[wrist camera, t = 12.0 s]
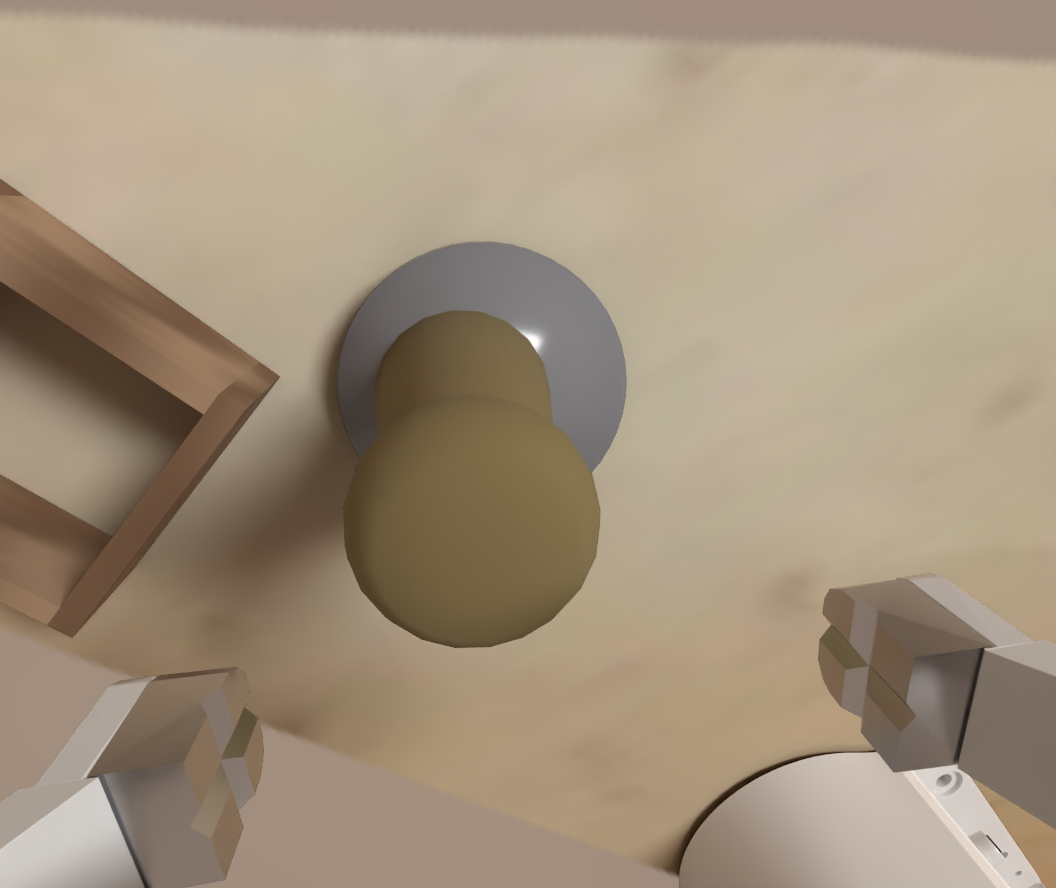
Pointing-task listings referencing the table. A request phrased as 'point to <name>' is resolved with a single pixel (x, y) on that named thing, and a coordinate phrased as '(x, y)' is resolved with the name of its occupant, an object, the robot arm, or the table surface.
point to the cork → (469, 488)
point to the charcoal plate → (508, 294)
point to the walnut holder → (154, 351)
